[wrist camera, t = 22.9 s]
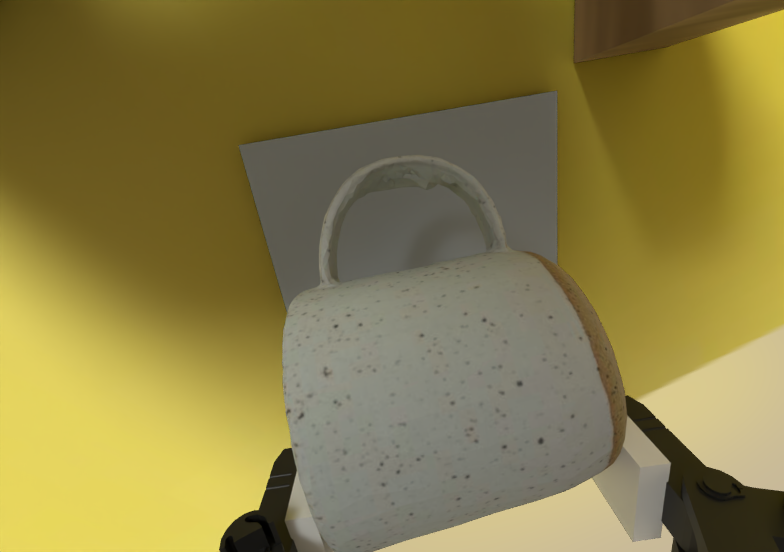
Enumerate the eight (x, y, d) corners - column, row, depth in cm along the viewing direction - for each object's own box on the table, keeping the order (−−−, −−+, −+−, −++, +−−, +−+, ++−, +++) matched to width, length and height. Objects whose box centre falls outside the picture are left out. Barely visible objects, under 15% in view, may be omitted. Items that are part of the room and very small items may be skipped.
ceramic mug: (538, 376, 16) (668, 560, 9) (360, 420, 17) (346, 630, 9) (498, 126, 13) (657, 95, 6) (275, 189, 13) (149, 238, 6)
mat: (314, 395, 21) (312, 402, 21) (243, 145, 17) (238, 145, 16) (552, 358, 21) (557, 364, 21) (551, 92, 16) (557, 90, 16)
